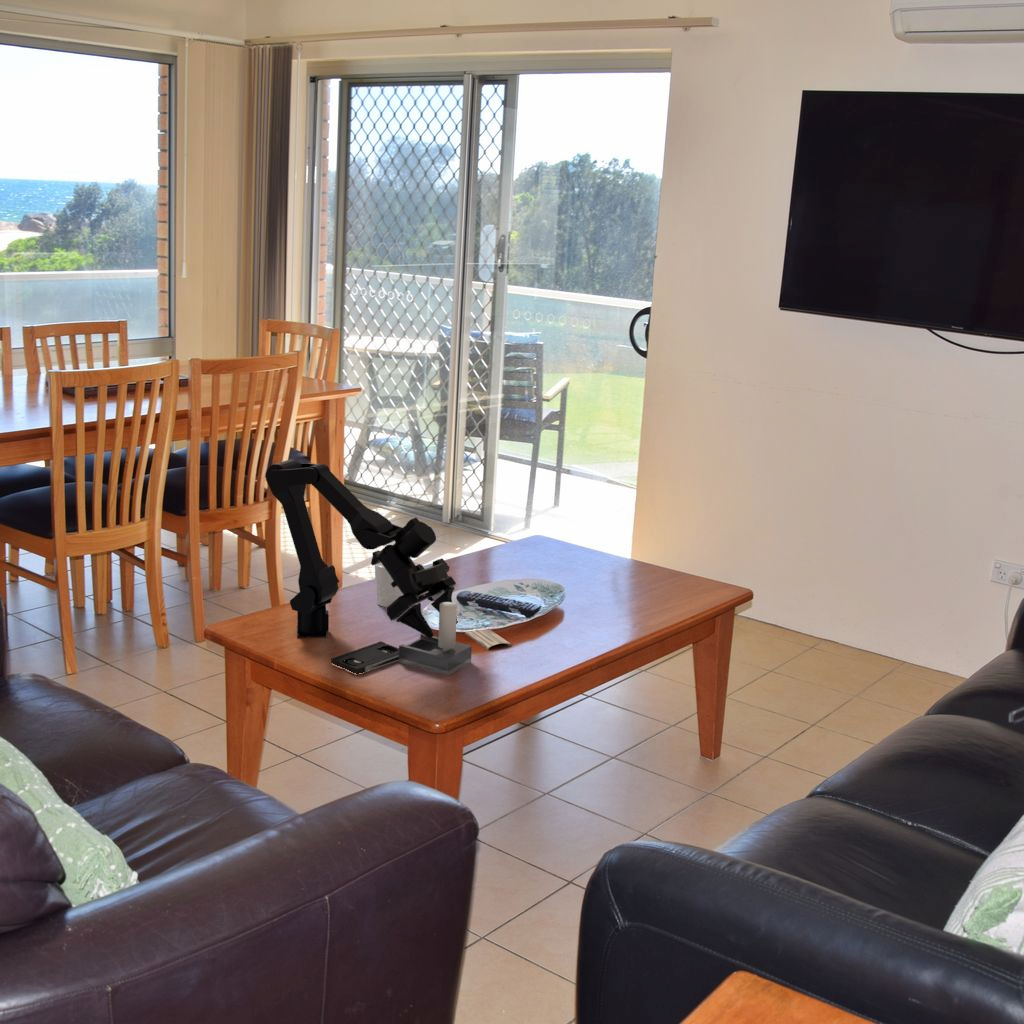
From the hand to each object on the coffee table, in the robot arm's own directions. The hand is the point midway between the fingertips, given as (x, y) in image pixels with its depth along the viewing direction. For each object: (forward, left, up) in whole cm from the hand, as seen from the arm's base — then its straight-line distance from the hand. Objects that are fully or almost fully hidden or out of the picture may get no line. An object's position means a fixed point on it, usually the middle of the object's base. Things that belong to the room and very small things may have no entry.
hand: (444, 630), depth 249 cm
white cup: (-8, +40, -8) cm, 41 cm away
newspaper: (+10, +20, -9) cm, 24 cm away
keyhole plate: (-2, +2, -8) cm, 8 cm away
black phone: (-15, +3, -8) cm, 18 cm away
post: (+1, 0, -7) cm, 7 cm away
